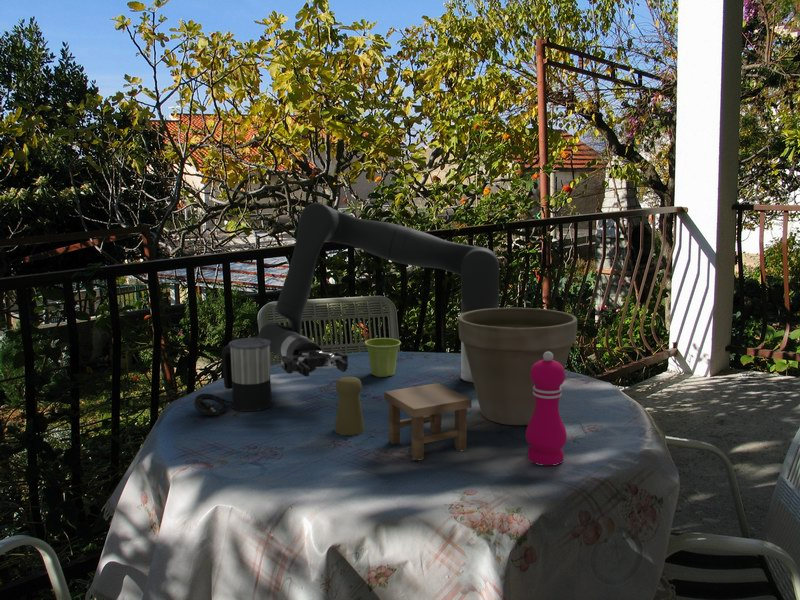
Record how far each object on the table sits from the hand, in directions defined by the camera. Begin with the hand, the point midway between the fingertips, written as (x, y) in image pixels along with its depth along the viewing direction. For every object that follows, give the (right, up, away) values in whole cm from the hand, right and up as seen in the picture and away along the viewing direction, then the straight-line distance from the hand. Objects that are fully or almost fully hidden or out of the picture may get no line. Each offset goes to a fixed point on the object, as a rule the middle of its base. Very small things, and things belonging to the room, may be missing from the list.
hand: (326, 369), depth 149 cm
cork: (+6, -12, -8) cm, 15 cm away
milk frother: (-21, -10, +6) cm, 24 cm away
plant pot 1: (+11, -5, +33) cm, 35 cm away
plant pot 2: (+41, -10, +1) cm, 42 cm away
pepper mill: (+42, -14, -24) cm, 50 cm away
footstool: (+21, -13, -17) cm, 30 cm away
